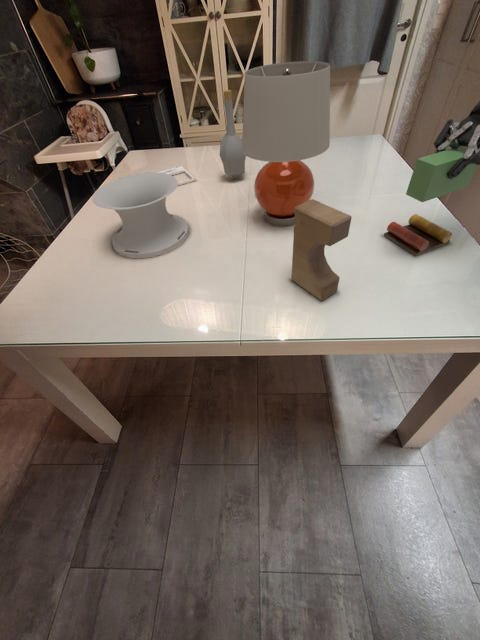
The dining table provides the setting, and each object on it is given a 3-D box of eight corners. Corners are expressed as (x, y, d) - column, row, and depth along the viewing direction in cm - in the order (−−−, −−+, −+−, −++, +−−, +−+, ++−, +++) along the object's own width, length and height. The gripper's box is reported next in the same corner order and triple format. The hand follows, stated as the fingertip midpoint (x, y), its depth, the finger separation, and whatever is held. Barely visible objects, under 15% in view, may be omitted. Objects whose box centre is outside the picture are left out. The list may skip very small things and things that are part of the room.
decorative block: (337, 292, 73) (353, 215, 58) (320, 302, 71) (332, 226, 56) (306, 271, 80) (313, 197, 65) (290, 279, 78) (293, 206, 63)
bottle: (235, 171, 131) (227, 86, 109) (254, 177, 125) (249, 88, 103) (216, 180, 126) (204, 93, 104) (235, 186, 120) (226, 95, 98)
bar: (467, 187, 71) (484, 150, 65) (422, 202, 68) (436, 165, 62) (449, 179, 74) (464, 144, 68) (405, 194, 71) (417, 158, 65)
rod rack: (449, 243, 82) (455, 230, 80) (415, 256, 80) (420, 243, 77) (415, 224, 90) (419, 212, 87) (383, 236, 88) (387, 223, 85)
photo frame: (181, 165, 138) (194, 177, 127) (181, 168, 139) (195, 180, 128) (151, 173, 135) (162, 186, 123) (151, 176, 136) (162, 189, 124)
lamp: (286, 193, 112) (290, 58, 84) (336, 216, 98) (362, 61, 69) (232, 216, 103) (217, 73, 75) (279, 245, 89) (282, 81, 61)
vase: (121, 222, 107) (103, 177, 96) (189, 213, 107) (179, 168, 96) (106, 262, 90) (81, 214, 79) (187, 252, 90) (175, 203, 79)
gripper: (471, 79, 63) (408, 153, 70) (542, 89, 54) (462, 173, 60) (477, 104, 68) (418, 171, 75) (543, 117, 59) (469, 193, 65)
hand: (438, 172), depth 67 cm, fingers closed on bar, 5 cm apart
